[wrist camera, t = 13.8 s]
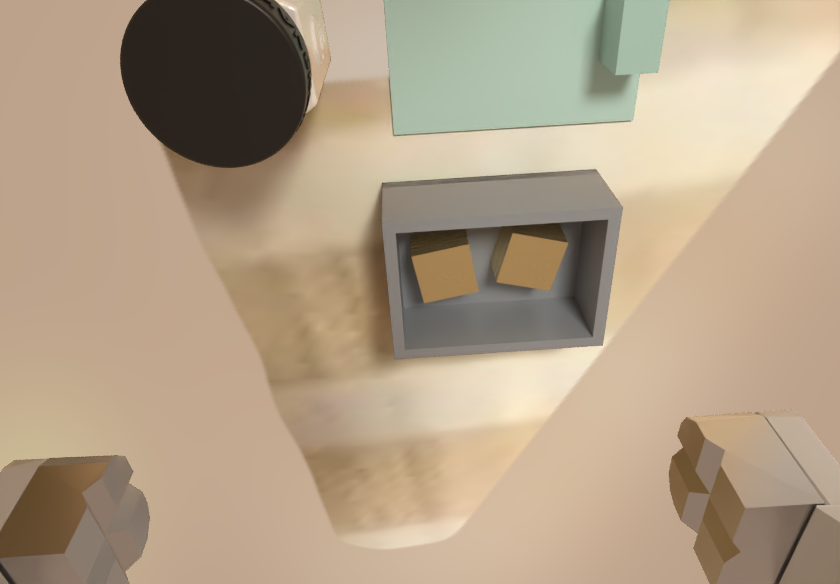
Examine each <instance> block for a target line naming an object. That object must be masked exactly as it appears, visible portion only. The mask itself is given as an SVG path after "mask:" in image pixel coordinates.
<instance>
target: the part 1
mask: <svg viewBox="0 0 840 584" xmlns="http://www.w3.org/2000/svg"><path fill="white" fill-rule="evenodd" d="M410 243H411V257H412V261H413V265H414V268H415V272H416V275H417V279H418V283H419V286H420V290H421V294H422V297H423V301H424V303H428V302H433V301H437V300H442V299H447V298H451V297H456V296H461V295H466V294H470V293H475V292H479V290H478V285H477V281H476V276H475V271H474V267H473V262H472V257H471V252H470V248H469V243H468V238H467V234H466V229H454V230H438V231H429V232H425V233H420V234H416V235H411V236H410Z"/></svg>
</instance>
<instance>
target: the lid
mask: <svg viewBox="0 0 840 584" xmlns="http://www.w3.org/2000/svg"><path fill="white" fill-rule="evenodd" d="M669 1H670V0H384V10H385V23H386V36H387V50H388V63H389V77H390V90H391V103H392V116H393V130H394V135H404V134H420V133H436V132H452V131H468V130H484V129H500V128H516V127H532V126H548V125H564V124H580V123H596V122H612V121H628V120H633V117H634V110H635V104H636V97H637V90H638V83H639V76H640V74H644V73H658V69H659V63H660V57H661V51H662V44H663V38H664V32H665V26H666V19H667V13H668V7H669Z"/></svg>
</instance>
